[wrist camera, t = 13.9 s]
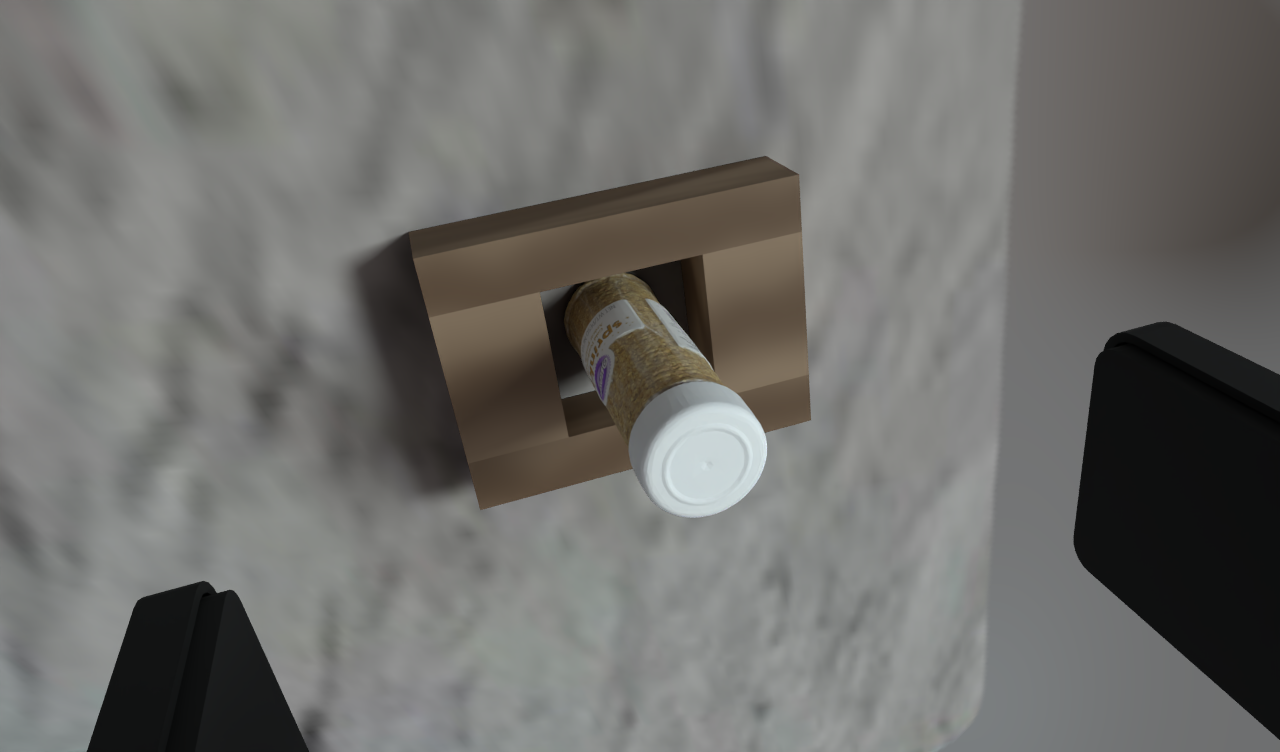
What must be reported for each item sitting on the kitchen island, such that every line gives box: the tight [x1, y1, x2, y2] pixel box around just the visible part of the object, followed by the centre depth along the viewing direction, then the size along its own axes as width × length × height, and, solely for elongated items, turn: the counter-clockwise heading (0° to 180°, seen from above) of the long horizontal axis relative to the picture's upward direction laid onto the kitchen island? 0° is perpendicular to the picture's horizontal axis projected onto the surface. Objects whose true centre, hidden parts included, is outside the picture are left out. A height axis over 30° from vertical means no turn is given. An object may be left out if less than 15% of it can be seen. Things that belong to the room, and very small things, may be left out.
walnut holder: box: [409, 156, 811, 510], centre depth 40 cm, size 12×16×4 cm
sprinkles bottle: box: [564, 273, 767, 518], centre depth 36 cm, size 5×5×13 cm
